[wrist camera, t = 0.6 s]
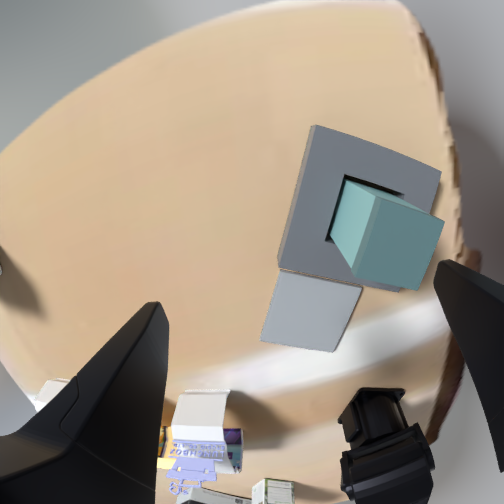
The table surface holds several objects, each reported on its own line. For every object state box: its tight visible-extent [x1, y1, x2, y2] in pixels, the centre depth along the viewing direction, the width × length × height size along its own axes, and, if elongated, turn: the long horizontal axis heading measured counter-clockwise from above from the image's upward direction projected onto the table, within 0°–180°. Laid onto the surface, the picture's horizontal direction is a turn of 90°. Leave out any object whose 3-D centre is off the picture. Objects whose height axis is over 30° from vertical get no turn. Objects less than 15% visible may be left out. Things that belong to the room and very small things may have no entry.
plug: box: [328, 178, 445, 290], centre depth 17 cm, size 4×4×8 cm
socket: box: [277, 125, 442, 292], centre depth 20 cm, size 10×10×2 cm
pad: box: [260, 269, 362, 352], centre depth 24 cm, size 7×7×1 cm
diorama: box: [34, 378, 244, 495], centre depth 25 cm, size 25×10×13 cm, turn 98°
